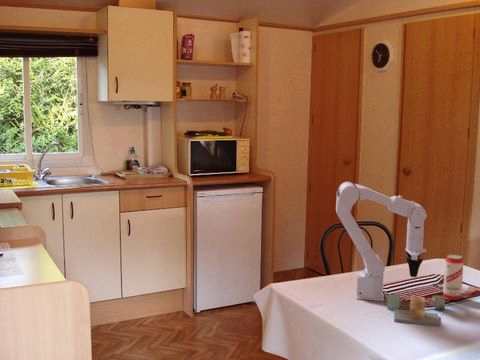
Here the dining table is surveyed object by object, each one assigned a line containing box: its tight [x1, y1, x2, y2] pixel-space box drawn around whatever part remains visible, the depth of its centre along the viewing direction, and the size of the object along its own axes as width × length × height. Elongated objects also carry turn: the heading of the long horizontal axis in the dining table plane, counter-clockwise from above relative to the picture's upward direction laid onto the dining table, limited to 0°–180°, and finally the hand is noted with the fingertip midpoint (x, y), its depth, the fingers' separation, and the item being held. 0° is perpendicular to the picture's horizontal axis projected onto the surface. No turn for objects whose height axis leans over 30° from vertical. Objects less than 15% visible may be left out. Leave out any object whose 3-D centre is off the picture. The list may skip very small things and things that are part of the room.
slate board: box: [393, 309, 440, 327], centre depth 183 cm, size 14×8×1 cm, turn 74°
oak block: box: [409, 295, 426, 320], centre depth 183 cm, size 4×4×6 cm
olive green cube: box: [386, 293, 401, 311], centre depth 193 cm, size 4×4×4 cm
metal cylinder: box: [430, 294, 446, 312], centre depth 191 cm, size 4×4×4 cm
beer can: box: [442, 253, 464, 300], centre depth 199 cm, size 6×6×16 cm
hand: (413, 273), depth 200 cm, fingers open, 7 cm apart
